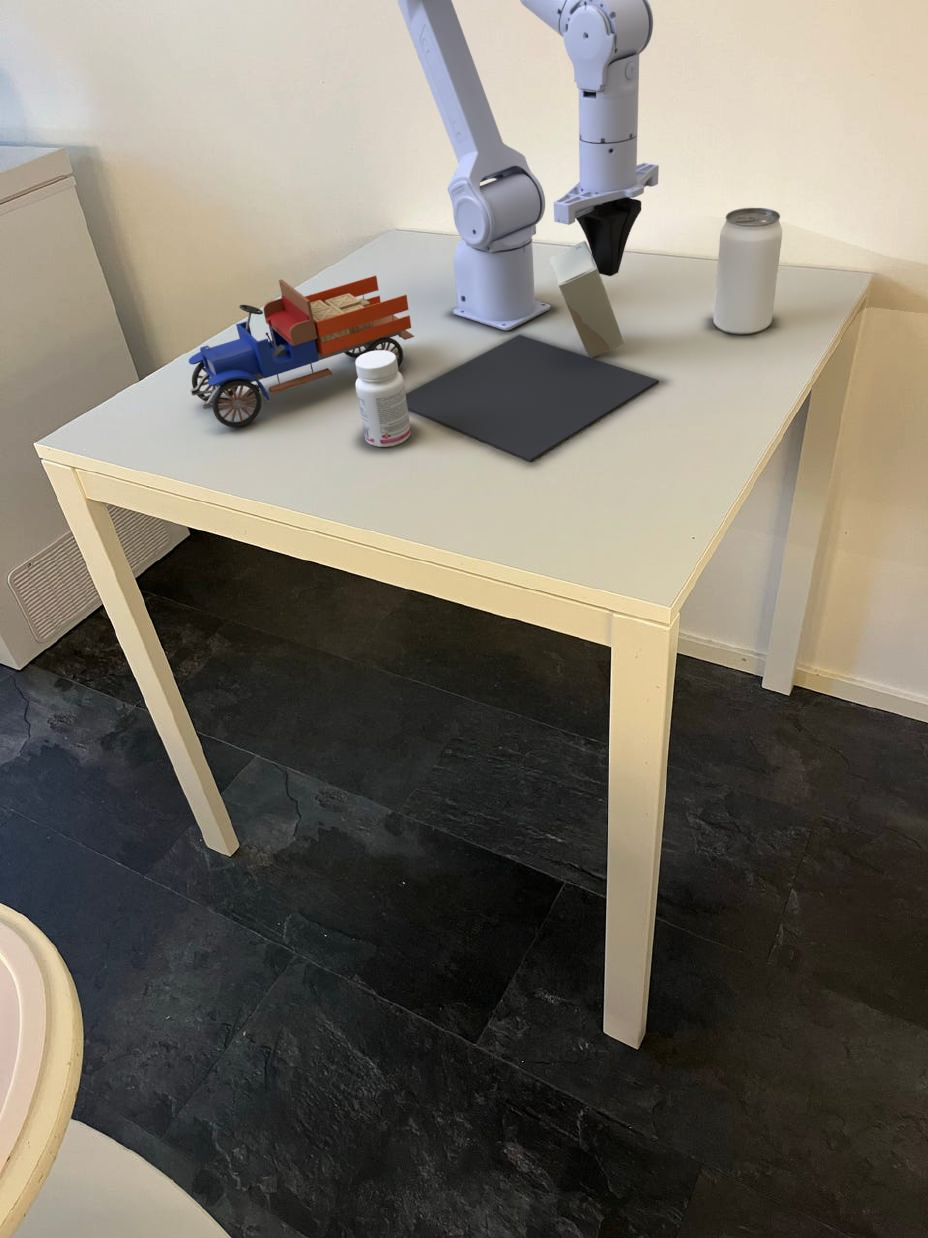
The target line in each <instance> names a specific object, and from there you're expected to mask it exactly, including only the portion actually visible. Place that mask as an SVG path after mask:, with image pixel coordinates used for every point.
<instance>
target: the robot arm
mask: <svg viewBox="0 0 928 1238" xmlns="http://www.w3.org/2000/svg"><path fill="white" fill-rule="evenodd" d="M519 1H520V3H521V5H522V6H523V7H525V8H526V9H528V11H530V12H531V13H532V14H534V15H535V16H536V17H537V18H538V19H539V20H540V21H542V22H543V23H544V24H546V25H547V26H548V27H549V28H551V29H552V30H553V31H554V32H556V33H557V34H558V35H559V36H561V37H562V38H563V43H564V47H565V51H566V53H567V56H568V58H569V59H570V61H571V64H572V67H573V82H574V83H576V88H577V89H578V159H579V160H578V168H579V170H578V171H579V173H578V175H579V176H578V177H579V182H577V184H575V185H574V186H573V187H572V188H571V189H570V190H569V191H568V192H567V193H565V194H564V195H563V196H562V197H560V198H559V199H557V200H554V201H553V222H554V223H559V224H564V225H572V224H574V223H575V222H576V221H577V223H578V224H579V226H580V228H581V229H582V231H583V234H584V235H585V238H586V240H587V244H588V247H589V250H590V252H591V254H592V256H593V259H594V261H595V264H596V266H597V269H598V271H599V274H600V275H601V276H602V275H604V276H607V277H613V276H615V275H616V274H618V273H619V271H620V268H621V264H622V260H623V256H624V252H625V248H626V245H627V241H628V239H629V236H630V234H631V231H632V228H633V226H634V224H635V222H636V220H637V219H638V217H639V215H640V213H642V201H641V200H640V199H636V197H639V196H641V195H643V194H644V193H645V187H650V188H651V187H655V186H657V185H658V184H659V169H660V167H659V164H654V163H648V162H642V163H640V164H638V161H637V160H638V131H639V130H638V127H639V89H640V88H639V87H640V85H639V84H640V54H641V53H643V52H644V50H646V48H647V47H648V46H649V44H650V41H651V38H652V36H653V31H654V16H653V10H652V8H651V5H650V3H649V1H648V0H519ZM396 2H397V4H398V7H399V10H400V13H401V15H402V17H403V20H404V23H405V25H406V28H407V31H408V33H409V36H410V39H411V41H412V44H413V47H414V49H415V51H416V55H417V58H418V60H419V62H420V66H421V67H422V70H423V73H424V75H425V78H426V81H427V84H428V86H429V90H430V92H431V94H432V96H433V99H434V102H435V105H436V107H437V111H438V112H439V115H440V118H441V121H442V123H443V126H444V129H445V131H446V133H447V136H448V139H449V142H450V144H451V147H452V149H453V152H454V155H455V157H456V160H457V163H458V165H457V167H456V169H455V171H454V172H453V175H452V177H451V180H450V181H449V183H448V186H447V192H448V195H449V199H450V201H451V205H452V214H453V221H454V226H455V228H456V231H457V233H458V234H459V236H460V237H461V239H460V241H459V242H458V244H457V246H456V249H455V251H454V256H453V270H454V281H455V291H456V300H457V301H456V302H457V307H456V308H454V309H453V310H452V312H453V314H454V315H456V316H459V317H463V318H465V319H468V320H471V321H475V322H478V323H480V324H484V325H487V326H490V327H493V328H496V329H499V330H502V331H505V332H507V331H510V330H512V329H514V328H516V327H518V326H520V325H523V324H524V323H526V322H528V321H530V320H532V319H535V318H536V317H538V316H540V315H541V314H544V313H545V312H547V311H549V310H551V305H550V304H549V303H545V302H541V301H538V300H536V297H535V296H536V295H535V275H534V274H535V272H534V249H533V236H535V235H537V224H539V222H541V220H542V219H543V217H544V216H545V215H544V214H545V210H546V198H545V196H546V195H545V192H544V189H543V186H542V185H541V182H540V181H539V180H538V178H537V176H535V174H534V173H533V172H532V170H531V169H530V167H529V164H528V161H527V158H526V156H525V155H524V154H523V153H521V152H520V151H518V150H517V149H514V148H512V147H511V146H509V145H508V144H505V143H504V142H503V139H502V136H501V133H500V131H499V128H498V124H497V122H496V119H495V117H494V114H493V111H492V108H491V106H490V102H489V100H488V97H487V94H486V92H485V89H484V86H483V83H482V81H481V78H480V76H479V73H478V70H477V67H476V63H475V61H474V58H473V56H472V53H471V50H470V48H469V45H468V42H467V39H466V37H465V34H464V31H463V28H462V25H461V22H460V20H459V17H458V14H457V12H456V9H455V6H454V3H453V0H396ZM493 179H495V180H493ZM488 180H492V181H489V182H487V183H484V184H482V185H481V183H483V182H485V181H488Z"/></svg>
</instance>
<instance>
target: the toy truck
mask: <svg viewBox="0 0 928 1238" xmlns="http://www.w3.org/2000/svg"><path fill="white" fill-rule="evenodd" d="M278 283H279V289H280V293H281V295H280V298H277V299H274V300H270V301H267V302H266V304H264V306H263V309H260V308H258V307H256V306H253V305H248V304H240V305H239V306H238V308H239V309H240V310H241V311H244V312H246V313H248V314H247V320H246V321H242V322H239V323H236V324H235V327H236V329H237V332H238V333H237V334H238V338H237V339H234V340H231V341H228V342H224V343H221V344H218V345H214V346H211V347H210V346H209V345H204V346H201V347H200V348H199V352H196V353H195V354H194V355H191V356H190V358H189V359H188V363H189V364H190V365H193V366H194V365H196V367H195V368H194V370H193V372H192V375H191V385H192V388H191V389H190V394H191V396H193V397H194V396H197V397H198V398H199V399H200V400H201V401H203V402H201V406H202V409H203V410H208V409H212V411H213V415H214V417H215V418H216V420H217V421H218V422H219V423H221V424H222V425H223V426H226V427H227V428H228V427H229V428H232V429H233V428H234V429H237V428H243V427H247V426H248V425H250V424H251V423H252V422H254V421H255V420H256V418H258V416H259V414H260V412H261V409H262V404H263V403H262V401H263V400H262V397H263V398H264V399H265V400H266V401H268V403H270V402H271V401H272V400H271V398H270V395H269V393H268V392H267V390H266V387H265V386H264V385H263V383H262V382H261V381H260V380H263V379H267V378H271V377H274V376H276V377H277V381H278V383H277V384H274V385H271V386H268V391H269V392H270V393H271V394H272V395H274V394H276V393H280V392H283V391H286V390H289V389H290V390H291V389H292V388H295V387H299V386H301V385H305V384H308V383H310V382H313V381H316V380H319V379H323V378H326V377H330V376H332V375H333V371H332V370H331V369H330V368H328V367H326V368H323V369H320V370H317V371H314V369H313V365H312V364H315V363H317V362H320V361H322V360H325V359H328V358H331V357H334V356H337V355H341V354H345V355H346V356H348V357H349V358H354V359H355V358H356V359H357V358H358V357H359V356H360V355H362V354H364V353H367V352H370V351H376V350H385V351H390V352H392V353H394V351H395V350H397V352H395V353H394V354H395V355H396V357H397V364H398V371H399V370H400V369H401V367H402V364H403V361H404V350H403V348H402V346H401V344H400V342H399V341H398V340H396V339H394V338H395V337H397V336H398V337H399V338H401V339H403V340H404V341H406V340H409V339H411V338H415V335H413V334H412V333H410V332H409V331H408V330H409V329H412V323H411V315H406V316H402V317H397V316H396V315H397V314H400V313H403V312H406V311H409V302H408V297H407V294H403V295H400V296H397V297H393V298H390V299H387V300H383V301H381V296H380V295H377V296H373V297H370V298H367V299H366V298H365V297H364V296H365V295H367V294H368V295H369V294H371V293H375V292H377V291H379V285H378V278H377V275H372V276H369V277H366V278H363V279H359V280H355V281H352V282H349V283H346V284H341V285H338V286H335V287H332V288H329V289H325V290H321V291H319V292H314V293H312V294H308V295H303V294H302V293H300V292H299V291H297V289H295V288H294V287H293V286H291V285H290V284H288V283H287V282H286V281H284V279H278ZM361 296H362V298H359V299H358V297H361ZM252 314H253V315H264V320H265V324H266V325H268V328H269V332H268V331H267V332H265V333H264V334H265V336H267V338H264V339H261V340H257V339H256V338H255V337H254V336H253V334H252V332H251V327H250V322H251V318H252ZM269 334H270V336H269ZM391 344H392V345H393V347H392V348H391V349H390V347H391ZM379 345H380V348H378V346H379ZM362 347H364V349H363V350H362ZM356 349H358V352H356ZM389 349H390V350H389ZM308 365H310V369H311V373H308V374H305V375H302V376H298V377H296V378H293V379H290V380H286V381H283V382H281V381H280V378H279V377H280V376H279V375H280V374H283V373H286V372H287V373H288V372H289V371H293V370H297V369H299V368H302V367H305V366H308ZM201 371H204V373H205V374H204V375H200V373H201ZM199 379H200V380H199ZM198 380H199V382H198ZM254 382H255V383H256V384H254ZM207 385H208V386H207ZM204 386H206V388H205V389H204V390H201V388H202V387H204ZM244 387H245V388H248V390H246V392H245V393H244V394H243V395H242V393H243V390H244ZM238 388H239V391H238V394H237V390H238ZM253 395H254V396H253ZM251 396H252V397H251ZM254 400H255V404H254V405H253V404H248V402H252V401H254ZM244 407H245V408H250V409H253V410H252V412H251V413H250V412H249V411H248V410H247V409H245V408H244ZM227 409H229V410H228V411H226V412H225V414H224V415H223V416H222V414H221V411H224V410H227ZM241 410H242V411H243V412H244V413H245V414H246V415H247V416H248V417H246V418H245V419H244V418H243V415H242V411H241ZM232 412H233V413H232ZM231 413H232V416H231V419H230V420H228V419H227V417H228V416H229V415H230V414H231ZM237 414H238V417H239V420H240V421H235V419H236V415H237Z"/></svg>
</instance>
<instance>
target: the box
mask: <svg viewBox="0 0 928 1238" xmlns="http://www.w3.org/2000/svg"><path fill="white" fill-rule="evenodd" d="M548 261H549V264H550V267H551V270H552V274H553V276H554V278H555V281H556V283H557V286H558V288H559V290H560V293H561V295H562V297H563V300H564V302H565V305H566V307H567V309H568V312H569V315H570V317H571V319H572V321H573V324H574V326H575V329H576V331H577V334H578V336H579V338H580V341H581V343H582V345H583V348H584V351H585V353H586V355H587V357H589V358H595V357H597V356H599V355H601V354H603V353H606V352H608V351H611V350H613V349H615V348H617V347H620V346H622V345H624V343H625V341H624V338H623V334H622V333H621V332H622V331H621V330H620V326H619V324H618V321H617V317H616V315H615V313H614V310H613V307H612V304H611V302H610V299H609V295H608V294H607V290H606V288H605V285H604V281H603V280H602V277H601V274H599V271H598V269H597V266H596V264H595V261H594V259H593V256H592V253H591V249H590V246H589V244H588V242H587V241H586V240H583V241H582V242H581V241H580V242H579V243H577V244H575V245H573V246H571V247H568V248H567V249H565V250H562V251H560V252H559V253H557V254H555V255H554V254H553V255H551V256H550V257H549V258H548Z"/></svg>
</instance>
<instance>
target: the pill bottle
mask: <svg viewBox="0 0 928 1238" xmlns="http://www.w3.org/2000/svg"><path fill="white" fill-rule="evenodd" d="M397 360H398V358H397V356H396V355H395V353H394V352H390V350H388V351H386V349H384V350H376V351H370V352H367V353H364V354H362V355H360V356H359V357H358V358H356V359H355V361H354V363H355V364H354V365H355V370H356V374H357V379H356V381H355V392H356V397H357V403H358V409H359V415H360V421H361V426H362V431H363V437H364V440H365V441H366V443H368V444H369V445H371V446H374V447H380V448H388V447H394V446H398V445H400V444H402V443H404V442H405V441H406V440H407V439H409V437H410V436H411V433H412V429H411V421H410V413H409V410H408V407H407V400H406V394H407V393H406V388H405V387H406V386H405V380H404V376H403V374H401V372H400V371H399V370H398V364H397Z"/></svg>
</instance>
